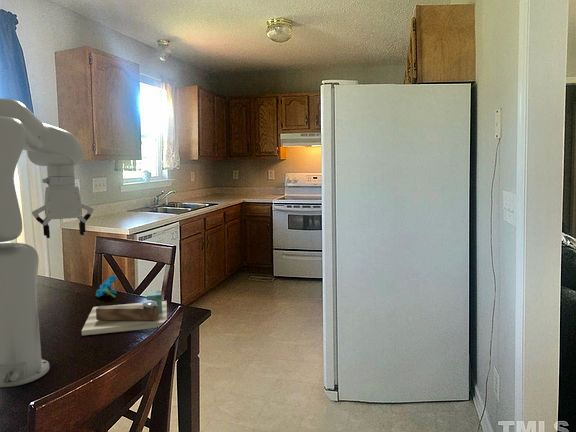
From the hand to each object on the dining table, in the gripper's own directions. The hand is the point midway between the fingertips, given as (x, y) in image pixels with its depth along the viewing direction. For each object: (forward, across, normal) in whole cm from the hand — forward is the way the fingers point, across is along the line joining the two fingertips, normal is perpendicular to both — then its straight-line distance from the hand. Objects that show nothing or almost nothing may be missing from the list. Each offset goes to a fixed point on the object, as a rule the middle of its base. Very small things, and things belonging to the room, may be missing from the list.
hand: (65, 236), depth 139 cm
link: (+25, +14, -16) cm, 33 cm away
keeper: (+25, +23, -13) cm, 37 cm away
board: (+27, +15, -11) cm, 33 cm away
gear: (+27, +15, +20) cm, 37 cm away
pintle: (+25, +20, -20) cm, 38 cm away
